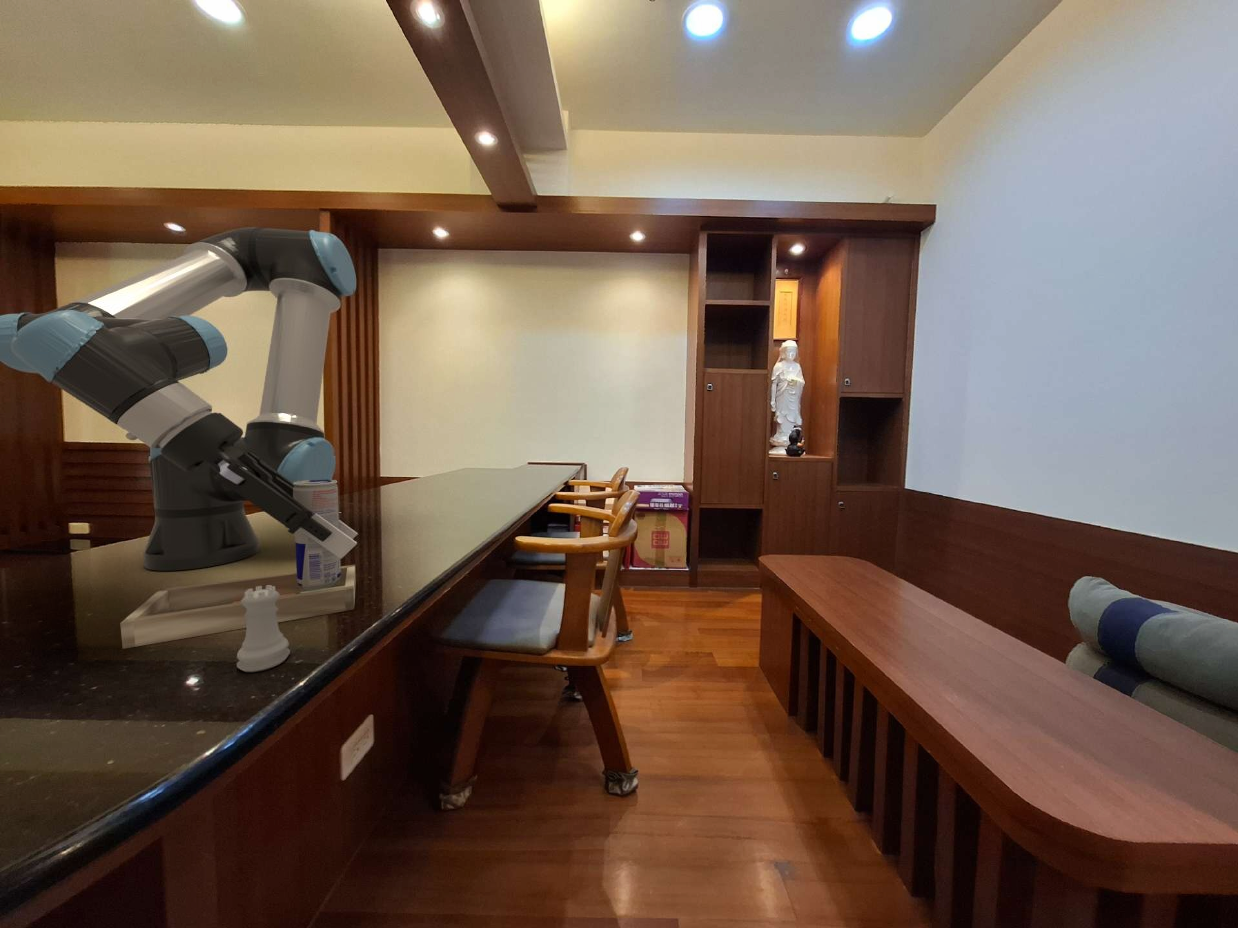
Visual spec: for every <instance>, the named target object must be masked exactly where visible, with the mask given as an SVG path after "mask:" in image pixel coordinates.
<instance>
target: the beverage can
mask: <svg viewBox="0 0 1238 928" xmlns="http://www.w3.org/2000/svg"><path fill="white" fill-rule="evenodd" d="M337 484H338V480H336V479H332V480H328V479H325V480H306V481H298V482H294V483H293V485H295V486H294V488H293V498H294V499H295V500H296V501H297V502H299V503H300V504H301V505H303V506H304V507H305V508H306V509H308V510H310V511H311V512H312V514H313V515H315V514H316V513H317V514H318V515H319V516H321V517H322V518H324V519H325V520H326V521H328V522H329V523H331V524H332V525H333V526H335V527H336V528H338V529H339V520H340V516H339V515H340V514H339V513H340V512H339V489H338V488H339V487H338V485H337ZM294 539H295V540H294V543H295V560H296V561H295V563H296V572H297V583H298V585H299V586H301V587H303V589H305V590H319V589H324V588H328V587H331V586H333V585H334V584H335V583H336V582H337V581H338V580H339V579H340V577H341V566H342V565H341V558H339V557H338V556H336V555H335V554H333V553H332V552H330V551H329V550H327V549H326V548H325V547H323V546H322V545H320V544H319V543H317V542H316V541H314V540H313V539H311V538H310V537H308V536H307V535H306V534H304V533H303V532H301V531H300V530H299V529H298V530H297V531H296V532H295V533H294Z"/></svg>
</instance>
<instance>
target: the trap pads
mask: <svg viewBox="0 0 1238 928" xmlns="http://www.w3.org/2000/svg"><path fill="white" fill-rule="evenodd" d="M294 594H296V593H290V594H283V595H280V596H287V595H294ZM280 596H279V597H280ZM239 602H240V601H234V602H233V603H239ZM233 603H231V604H233Z"/></svg>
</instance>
